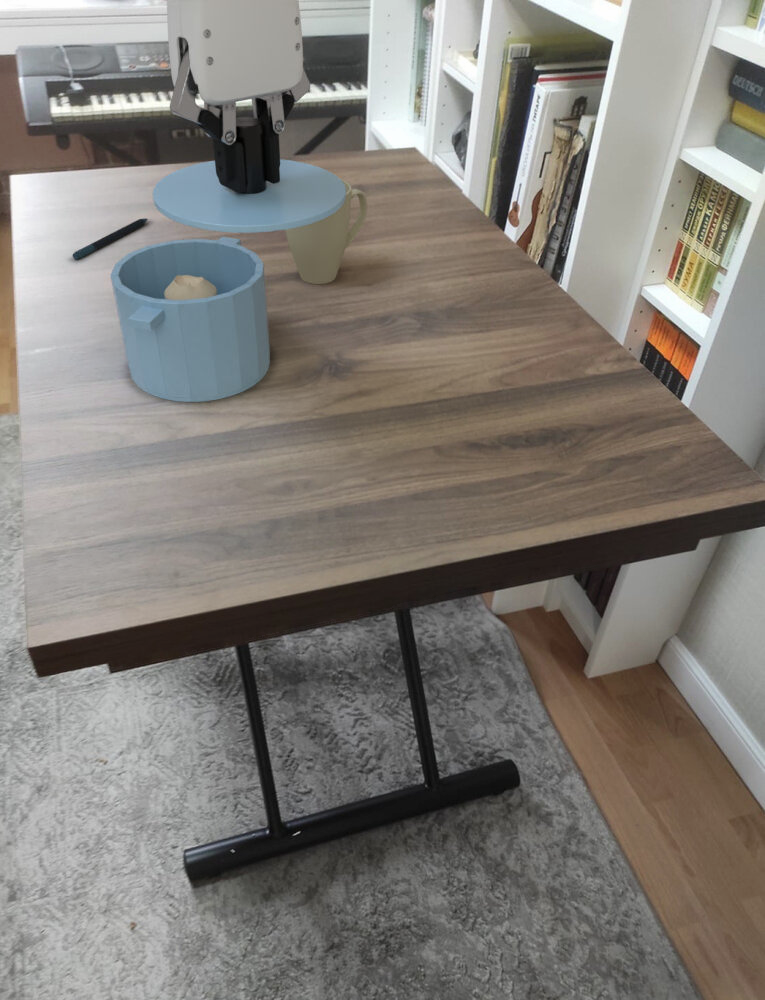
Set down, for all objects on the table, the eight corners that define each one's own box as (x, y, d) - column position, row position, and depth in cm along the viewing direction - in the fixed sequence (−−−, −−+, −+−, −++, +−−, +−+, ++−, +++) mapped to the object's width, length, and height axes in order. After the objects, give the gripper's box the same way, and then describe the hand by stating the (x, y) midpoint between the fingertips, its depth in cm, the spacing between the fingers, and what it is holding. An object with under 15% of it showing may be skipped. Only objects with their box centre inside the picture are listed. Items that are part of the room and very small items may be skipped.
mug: (349, 295, 109) (349, 204, 101) (276, 286, 110) (271, 196, 103) (367, 261, 117) (368, 174, 109) (299, 253, 119) (295, 167, 111)
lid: (117, 223, 69) (101, 138, 65) (208, 161, 81) (200, 87, 77) (304, 252, 65) (301, 165, 61) (370, 183, 77) (372, 106, 73)
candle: (229, 350, 96) (220, 268, 90) (217, 375, 92) (207, 291, 86) (182, 347, 97) (170, 265, 90) (168, 371, 92) (155, 288, 86)
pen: (151, 223, 126) (149, 216, 125) (78, 261, 115) (76, 253, 114) (145, 222, 126) (144, 214, 125) (72, 259, 115) (70, 251, 115)
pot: (89, 400, 89) (65, 300, 81) (181, 312, 104) (168, 222, 97) (224, 427, 85) (212, 326, 78) (298, 332, 101) (294, 241, 94)
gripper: (288, -84, 67) (297, 154, 79) (102, -73, 58) (143, 192, 70) (349, -74, 63) (349, 175, 74) (158, -61, 54) (192, 219, 66)
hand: (249, 181), depth 72 cm, fingers closed on lid, 2 cm apart
